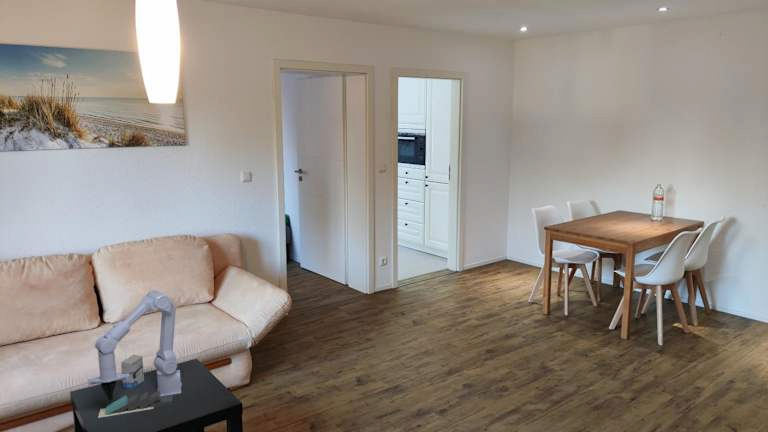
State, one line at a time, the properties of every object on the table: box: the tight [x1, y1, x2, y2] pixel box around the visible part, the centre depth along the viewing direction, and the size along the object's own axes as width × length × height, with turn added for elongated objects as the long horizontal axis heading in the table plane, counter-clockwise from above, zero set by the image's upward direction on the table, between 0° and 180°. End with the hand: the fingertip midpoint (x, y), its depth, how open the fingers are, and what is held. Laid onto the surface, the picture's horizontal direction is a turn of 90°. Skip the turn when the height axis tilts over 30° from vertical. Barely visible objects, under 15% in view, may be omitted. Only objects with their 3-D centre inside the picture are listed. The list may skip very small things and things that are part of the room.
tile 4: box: [139, 389, 161, 409], centre depth 227 cm, size 2×5×8 cm
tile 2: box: [117, 393, 140, 413], centre depth 224 cm, size 2×5×8 cm
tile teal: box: [105, 395, 129, 415], centre depth 223 cm, size 2×5×8 cm
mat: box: [97, 404, 155, 419], centre depth 224 cm, size 20×7×1 cm, turn 110°
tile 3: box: [128, 391, 151, 411], centre depth 225 cm, size 2×5×8 cm
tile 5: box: [151, 395, 173, 408], centre depth 228 cm, size 2×5×8 cm
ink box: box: [120, 354, 145, 390], centre depth 245 cm, size 8×5×12 cm, turn 168°
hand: (110, 399), depth 221 cm, fingers closed
